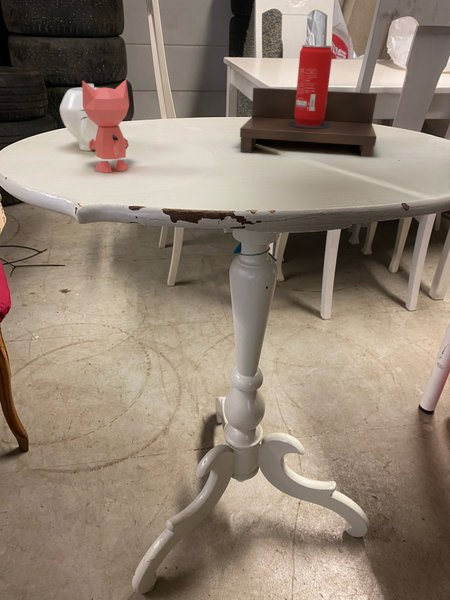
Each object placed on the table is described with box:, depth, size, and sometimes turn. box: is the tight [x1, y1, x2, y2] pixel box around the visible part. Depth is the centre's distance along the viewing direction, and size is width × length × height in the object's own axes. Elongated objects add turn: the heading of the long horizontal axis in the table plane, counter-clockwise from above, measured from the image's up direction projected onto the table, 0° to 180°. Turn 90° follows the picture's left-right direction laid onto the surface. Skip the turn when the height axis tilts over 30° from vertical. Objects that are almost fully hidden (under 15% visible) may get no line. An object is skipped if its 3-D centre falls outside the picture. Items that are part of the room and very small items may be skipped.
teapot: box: [59, 83, 99, 152], centre depth 78 cm, size 10×20×9 cm, turn 13°
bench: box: [239, 87, 378, 158], centre depth 81 cm, size 22×13×9 cm, turn 78°
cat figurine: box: [80, 79, 130, 173], centre depth 66 cm, size 7×7×12 cm
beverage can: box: [294, 44, 333, 126], centre depth 78 cm, size 5×5×12 cm
